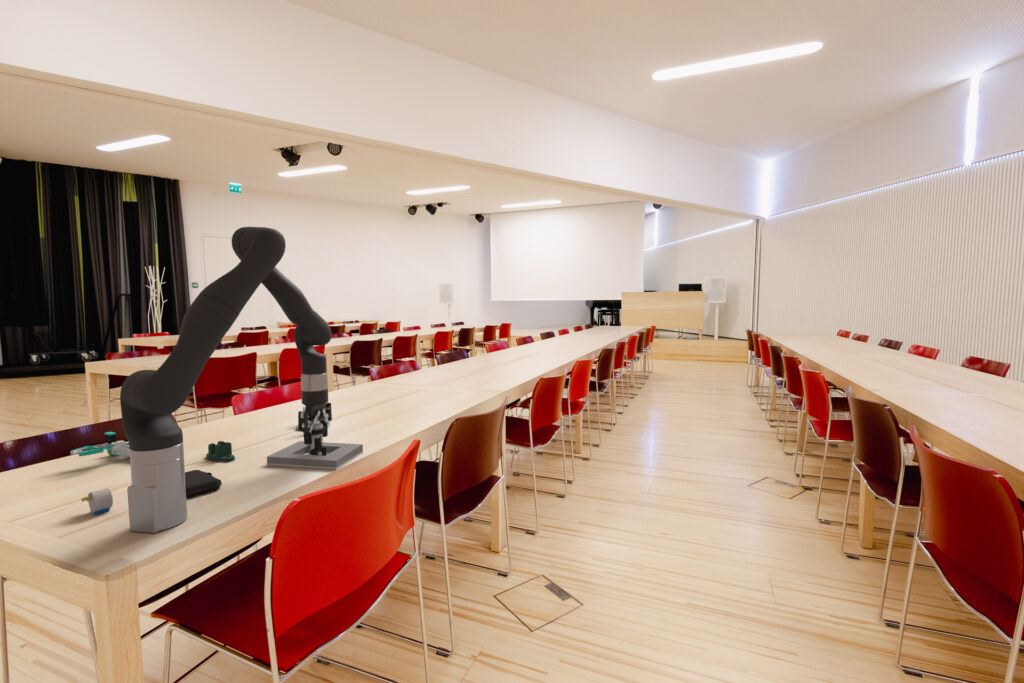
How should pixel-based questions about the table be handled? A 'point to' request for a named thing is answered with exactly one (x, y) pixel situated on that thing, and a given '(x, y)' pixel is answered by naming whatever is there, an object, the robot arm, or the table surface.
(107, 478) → the table surface
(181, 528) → the table surface
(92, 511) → the electric motor
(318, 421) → the l-shaped corner panel
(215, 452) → the mount
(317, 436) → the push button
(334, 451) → the plate
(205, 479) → the carrying case or bag
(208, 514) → the table surface
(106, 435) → the robot kit
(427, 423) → the table surface
